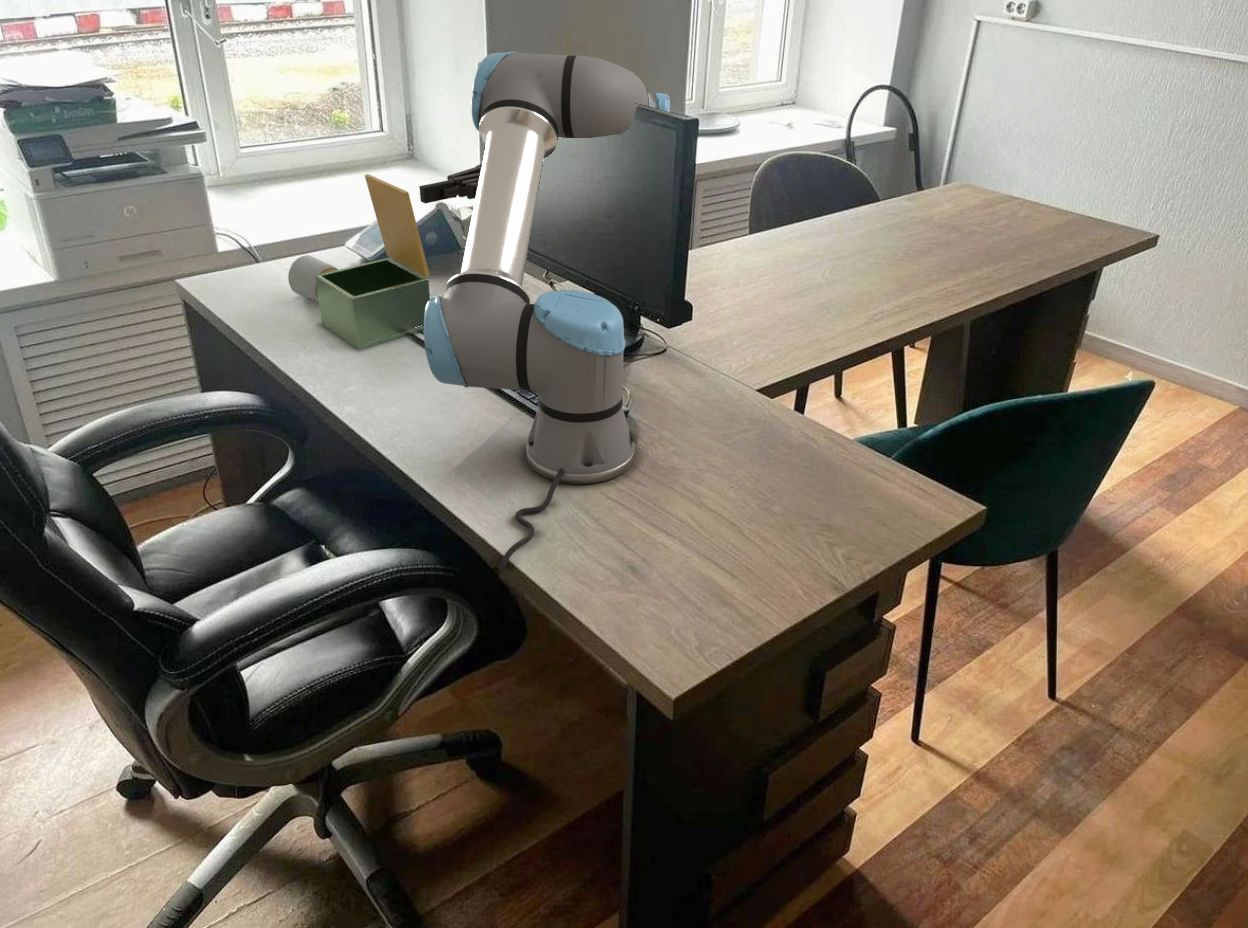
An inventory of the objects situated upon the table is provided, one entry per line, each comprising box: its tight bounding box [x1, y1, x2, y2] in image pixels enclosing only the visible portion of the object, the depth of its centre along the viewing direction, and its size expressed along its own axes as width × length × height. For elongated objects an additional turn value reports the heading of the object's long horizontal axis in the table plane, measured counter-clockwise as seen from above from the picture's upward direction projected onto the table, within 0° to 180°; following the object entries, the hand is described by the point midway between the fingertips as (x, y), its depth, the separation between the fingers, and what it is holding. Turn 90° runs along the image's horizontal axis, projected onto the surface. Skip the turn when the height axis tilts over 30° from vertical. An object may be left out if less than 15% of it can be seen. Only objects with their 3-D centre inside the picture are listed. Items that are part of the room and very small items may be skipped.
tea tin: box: [315, 257, 431, 351], centre depth 177 cm, size 15×14×9 cm
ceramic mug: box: [287, 254, 340, 303], centre depth 188 cm, size 11×8×8 cm
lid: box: [364, 173, 431, 278], centre depth 173 cm, size 15×14×1 cm
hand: (422, 194), depth 174 cm, fingers closed
